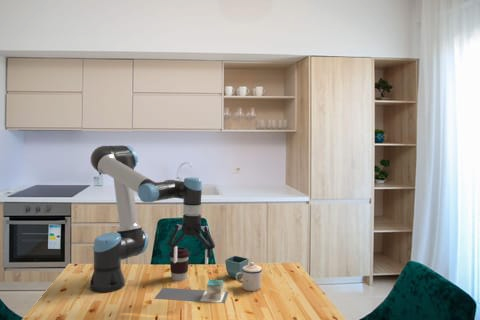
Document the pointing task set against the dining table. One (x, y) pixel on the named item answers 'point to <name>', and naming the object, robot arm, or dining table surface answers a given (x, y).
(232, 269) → the flower pot
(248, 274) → the teacup with lid
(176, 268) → the coffee cup
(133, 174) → the robot arm
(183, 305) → the dining table surface
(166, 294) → the charcoal mat
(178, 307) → the dining table surface
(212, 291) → the birch cube
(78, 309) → the dining table surface
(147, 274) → the dining table surface
